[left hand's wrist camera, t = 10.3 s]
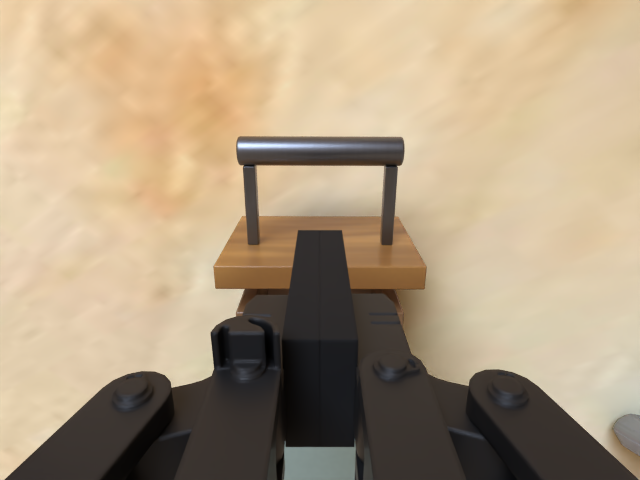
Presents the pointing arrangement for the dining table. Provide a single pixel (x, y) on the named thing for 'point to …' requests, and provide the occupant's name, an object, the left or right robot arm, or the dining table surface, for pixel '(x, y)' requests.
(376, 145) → the drawer
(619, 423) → the digital clock
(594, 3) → the dining table surface
